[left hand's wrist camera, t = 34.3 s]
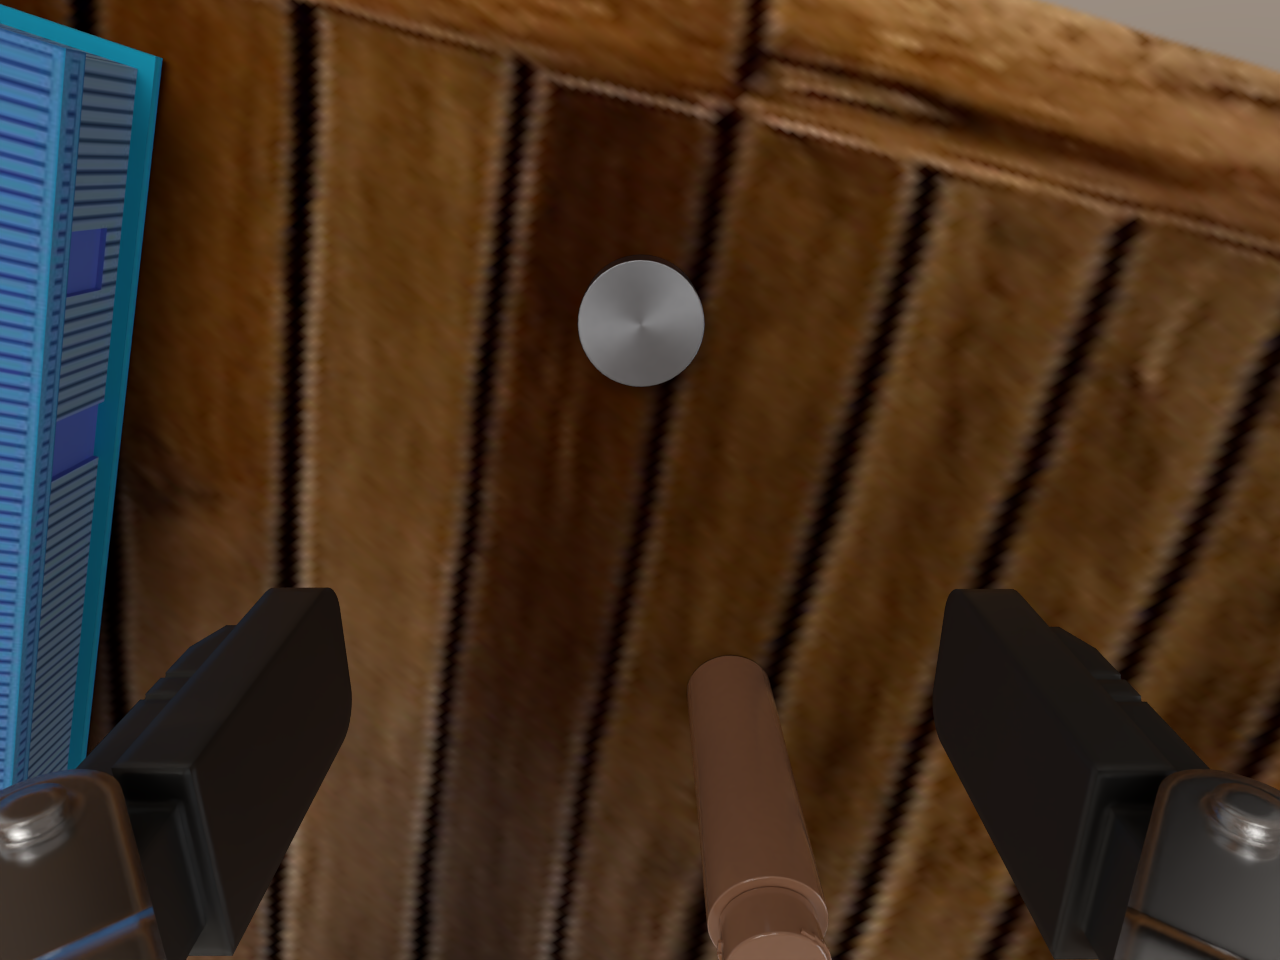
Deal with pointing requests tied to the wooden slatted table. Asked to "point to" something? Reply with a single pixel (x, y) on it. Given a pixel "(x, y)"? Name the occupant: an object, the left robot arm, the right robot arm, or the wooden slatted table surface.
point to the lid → (641, 321)
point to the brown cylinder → (751, 821)
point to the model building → (63, 362)
